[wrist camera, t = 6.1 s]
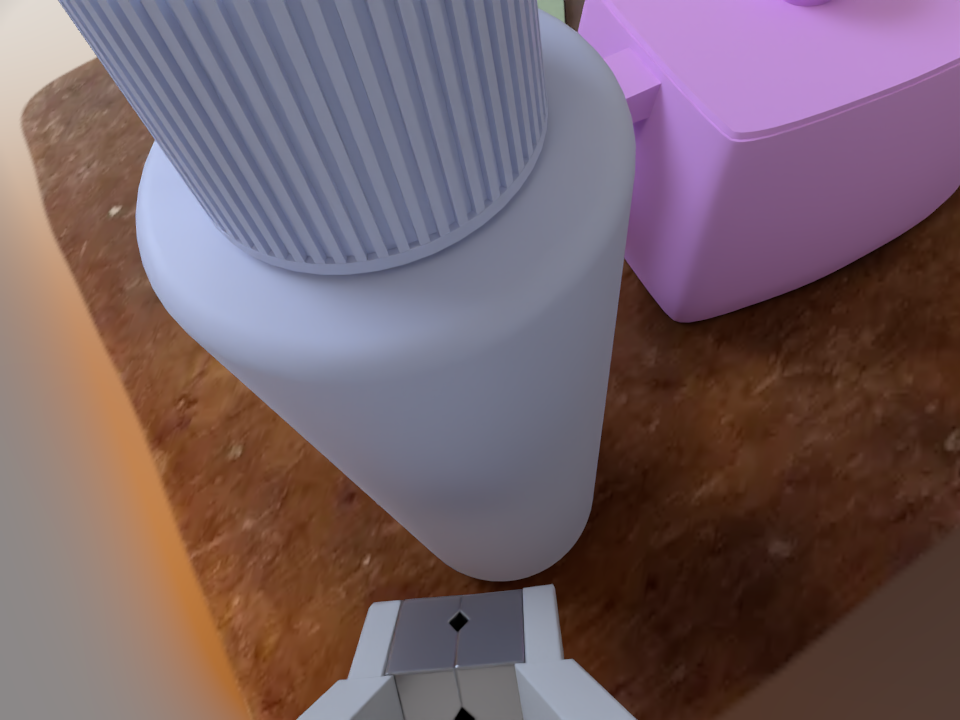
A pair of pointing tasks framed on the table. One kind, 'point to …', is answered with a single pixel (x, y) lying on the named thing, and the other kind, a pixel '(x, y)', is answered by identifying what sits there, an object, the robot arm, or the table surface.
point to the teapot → (777, 136)
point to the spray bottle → (394, 241)
